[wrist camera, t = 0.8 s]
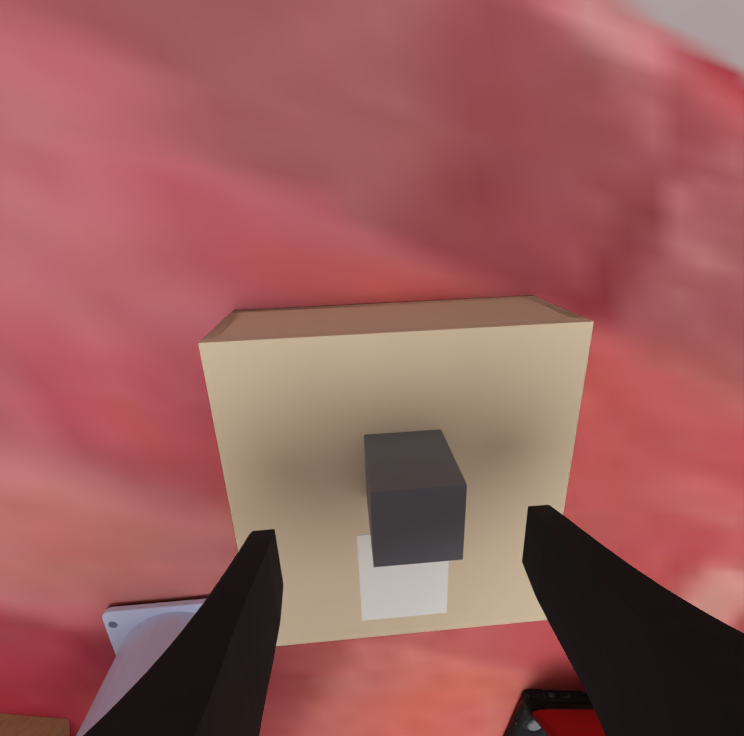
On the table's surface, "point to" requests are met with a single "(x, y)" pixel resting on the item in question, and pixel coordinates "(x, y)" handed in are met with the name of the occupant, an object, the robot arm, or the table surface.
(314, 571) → the carton lid
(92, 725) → the robot arm
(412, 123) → the table surface
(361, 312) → the carton
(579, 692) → the handheld game console
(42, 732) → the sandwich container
